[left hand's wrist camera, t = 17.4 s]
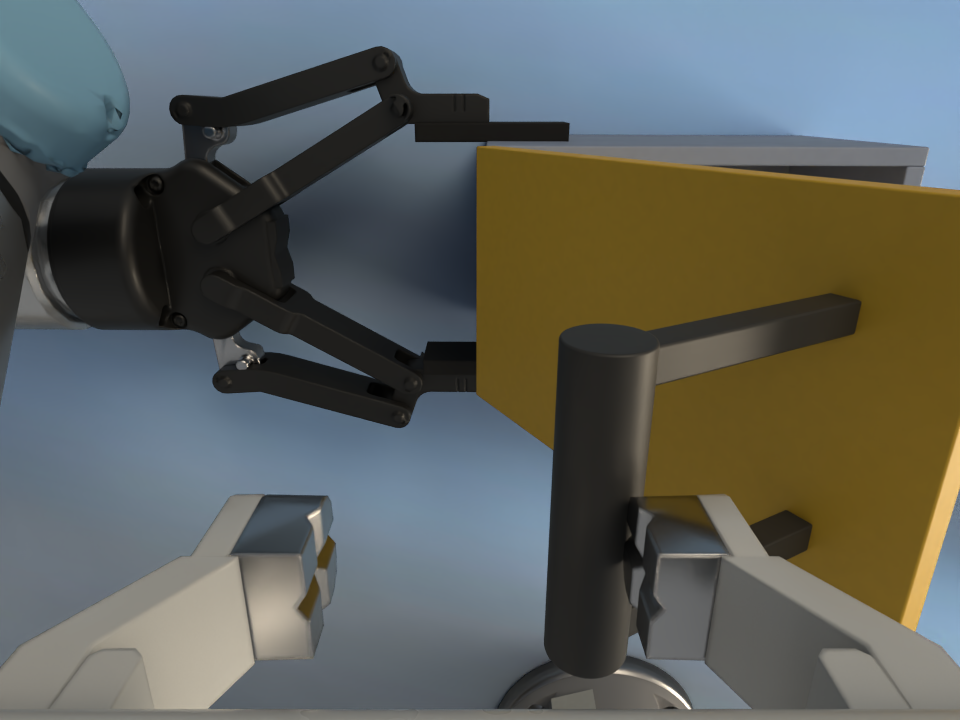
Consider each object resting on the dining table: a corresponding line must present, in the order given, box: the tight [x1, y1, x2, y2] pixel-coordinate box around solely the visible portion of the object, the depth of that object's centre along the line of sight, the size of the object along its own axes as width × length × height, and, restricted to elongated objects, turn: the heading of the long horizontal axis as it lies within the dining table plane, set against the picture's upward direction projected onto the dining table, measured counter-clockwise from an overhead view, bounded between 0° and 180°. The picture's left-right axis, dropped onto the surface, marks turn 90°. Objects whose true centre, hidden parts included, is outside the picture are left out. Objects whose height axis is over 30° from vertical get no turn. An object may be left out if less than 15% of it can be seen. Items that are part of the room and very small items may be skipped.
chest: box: [486, 135, 929, 186], centre depth 31 cm, size 17×10×11 cm, turn 90°
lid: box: [476, 146, 960, 679], centre depth 18 cm, size 17×10×8 cm
